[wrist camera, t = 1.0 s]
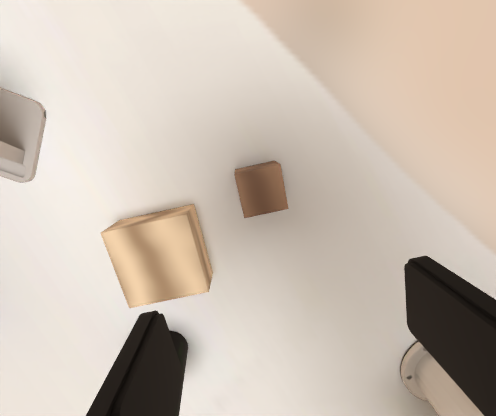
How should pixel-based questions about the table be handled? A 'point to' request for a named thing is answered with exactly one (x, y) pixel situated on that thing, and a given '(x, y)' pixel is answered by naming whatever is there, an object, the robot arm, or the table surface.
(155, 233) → the oak block
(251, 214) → the walnut cube
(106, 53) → the table surface
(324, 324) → the table surface
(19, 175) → the phone holder
